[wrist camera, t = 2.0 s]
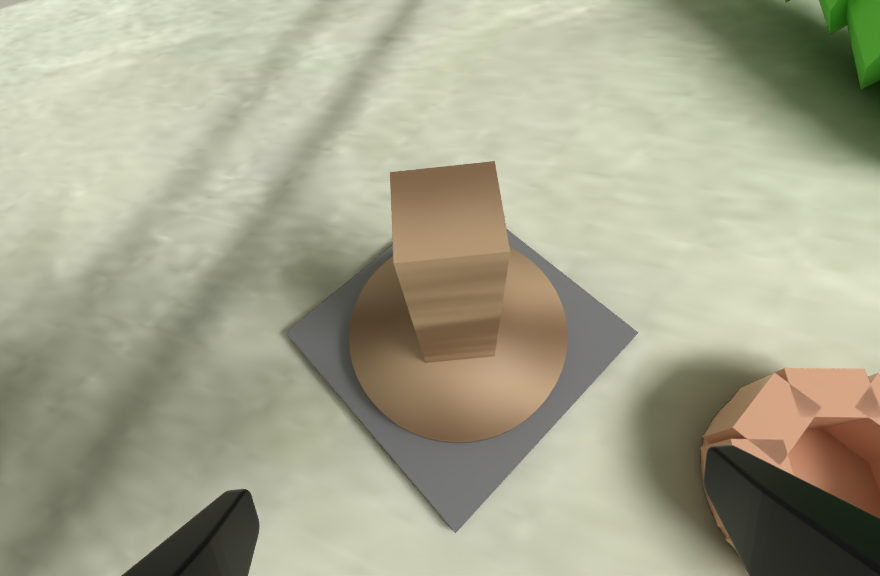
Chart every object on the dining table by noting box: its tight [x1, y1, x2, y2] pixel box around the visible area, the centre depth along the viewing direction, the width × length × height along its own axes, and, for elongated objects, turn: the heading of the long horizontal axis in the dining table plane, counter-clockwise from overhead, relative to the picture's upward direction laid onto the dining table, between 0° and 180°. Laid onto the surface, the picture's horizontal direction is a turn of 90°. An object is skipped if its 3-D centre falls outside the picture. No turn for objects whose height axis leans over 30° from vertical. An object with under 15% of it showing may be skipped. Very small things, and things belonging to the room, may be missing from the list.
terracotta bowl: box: [700, 368, 880, 552], centre depth 18 cm, size 9×9×3 cm
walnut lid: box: [349, 161, 568, 443], centre depth 19 cm, size 11×11×11 cm
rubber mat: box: [286, 229, 638, 533], centre depth 24 cm, size 13×13×1 cm
